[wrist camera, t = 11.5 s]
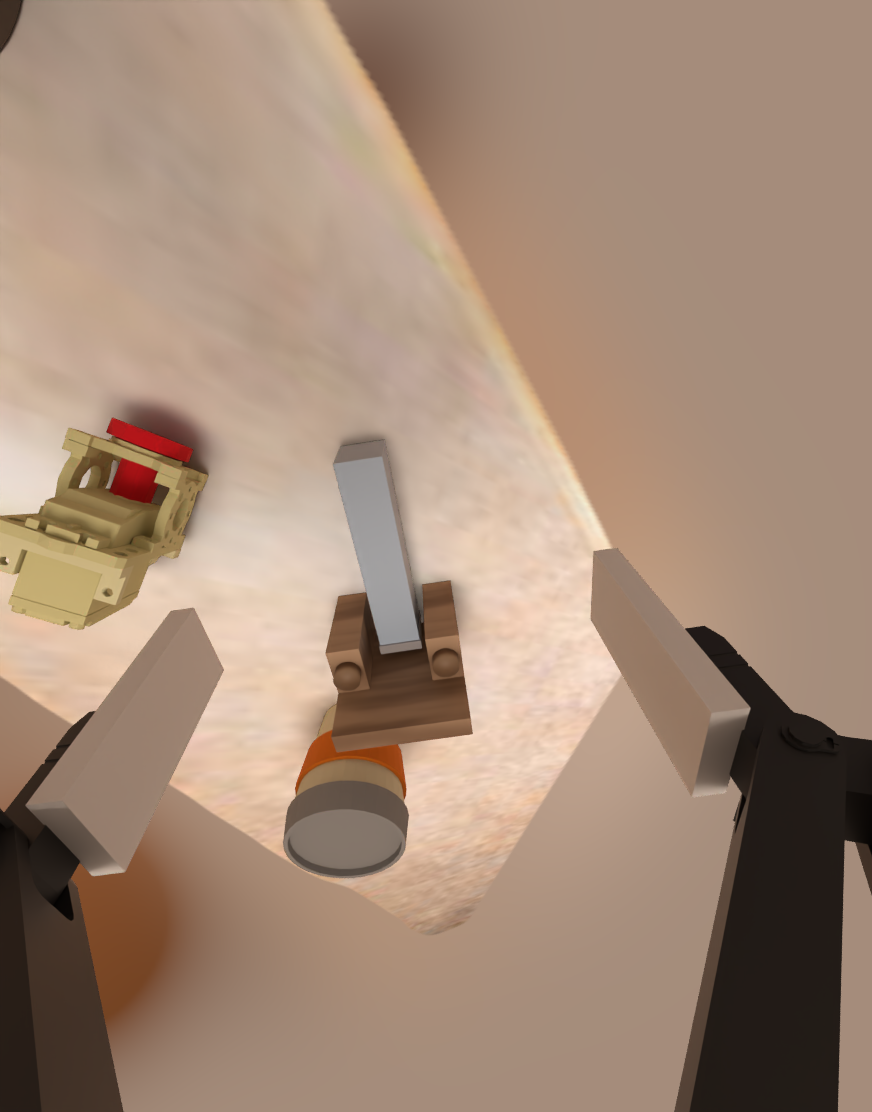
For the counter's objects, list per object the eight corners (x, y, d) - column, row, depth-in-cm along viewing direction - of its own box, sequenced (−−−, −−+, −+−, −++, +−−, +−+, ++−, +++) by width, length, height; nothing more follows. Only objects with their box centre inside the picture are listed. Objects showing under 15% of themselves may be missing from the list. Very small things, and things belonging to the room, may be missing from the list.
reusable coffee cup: (337, 673, 54) (315, 792, 41) (427, 710, 58) (432, 830, 45) (292, 736, 59) (259, 861, 46) (377, 767, 63) (369, 890, 50)
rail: (339, 446, 41) (331, 464, 37) (385, 439, 41) (383, 456, 37) (383, 622, 51) (381, 654, 47) (420, 617, 51) (422, 648, 47)
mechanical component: (237, 433, 47) (172, 389, 28) (177, 593, 47) (73, 659, 28) (156, 400, 45) (25, 327, 26) (95, 567, 46) (-78, 619, 26)
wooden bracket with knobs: (338, 596, 49) (315, 695, 37) (450, 580, 49) (464, 674, 37) (353, 646, 53) (336, 752, 40) (457, 632, 52) (472, 734, 40)
